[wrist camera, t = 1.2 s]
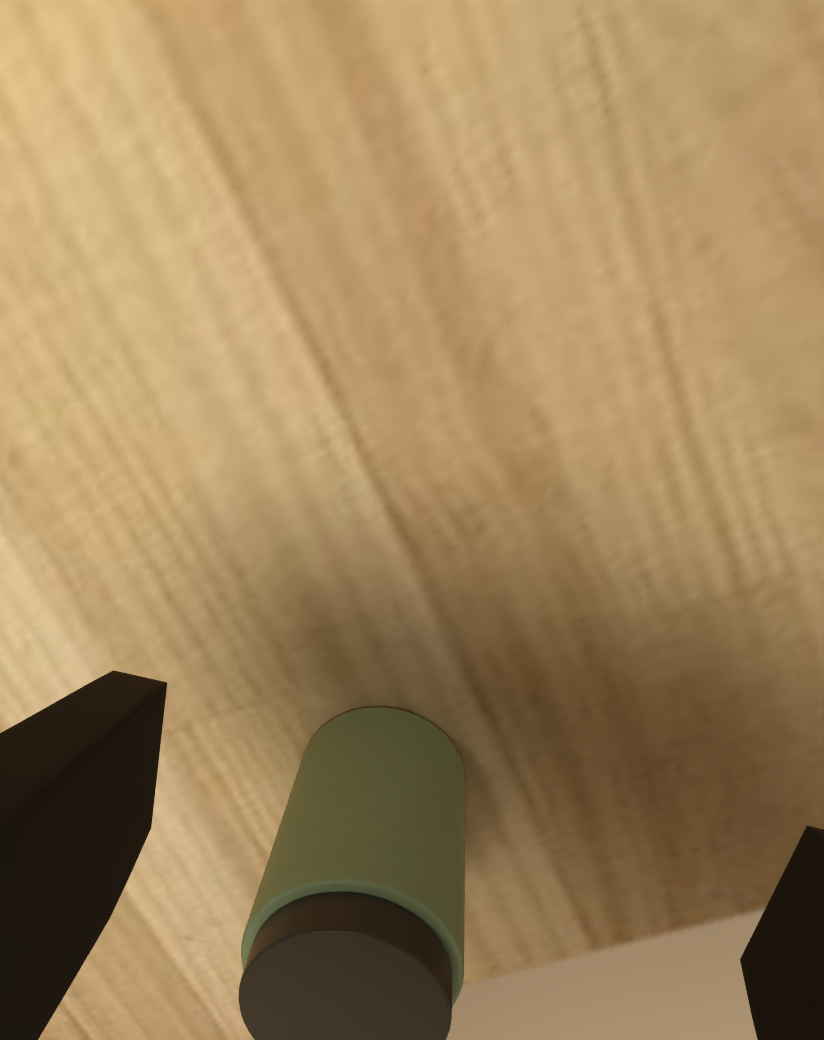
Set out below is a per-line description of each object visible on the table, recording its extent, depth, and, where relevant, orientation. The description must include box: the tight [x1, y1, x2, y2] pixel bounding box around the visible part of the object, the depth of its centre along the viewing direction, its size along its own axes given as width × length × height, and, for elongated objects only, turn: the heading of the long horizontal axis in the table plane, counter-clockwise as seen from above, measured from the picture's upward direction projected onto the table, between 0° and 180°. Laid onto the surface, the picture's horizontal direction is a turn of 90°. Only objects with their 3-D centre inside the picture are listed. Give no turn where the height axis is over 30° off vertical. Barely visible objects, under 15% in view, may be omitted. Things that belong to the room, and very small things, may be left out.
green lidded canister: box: [239, 707, 466, 1040], centre depth 15 cm, size 4×4×6 cm
